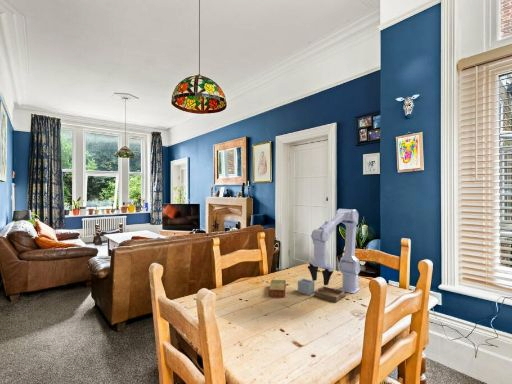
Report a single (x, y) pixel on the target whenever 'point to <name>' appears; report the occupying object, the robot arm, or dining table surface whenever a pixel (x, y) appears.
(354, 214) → the robot arm
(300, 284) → the small crate
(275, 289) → the carton
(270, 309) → the dining table surface
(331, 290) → the big crate
